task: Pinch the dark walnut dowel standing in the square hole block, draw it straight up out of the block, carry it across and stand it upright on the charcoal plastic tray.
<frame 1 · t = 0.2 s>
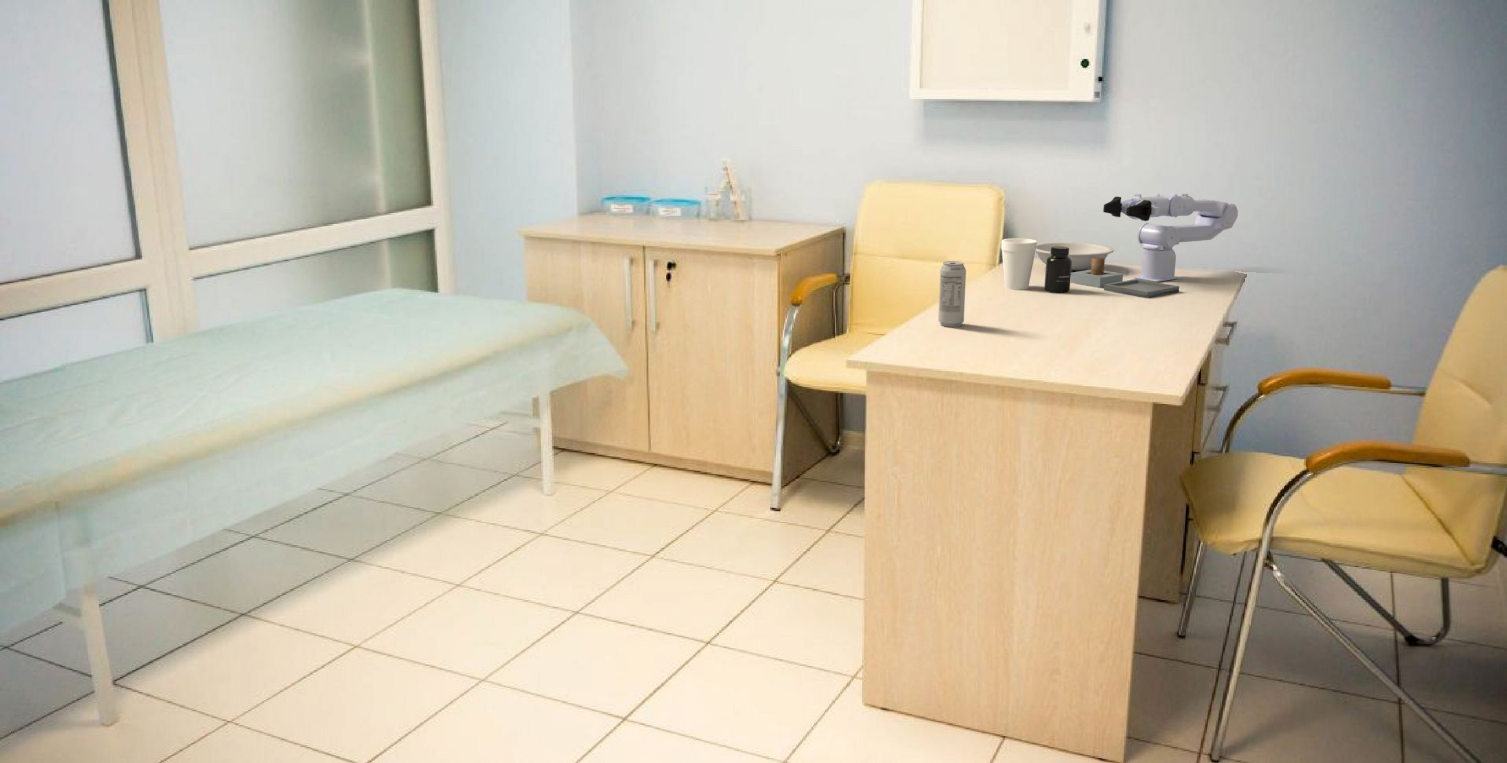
hand: (1115, 209, 339), 21 cm above the table, tool horizontal, fingers open, 7 cm apart
square hole block: (1096, 283, 350), on the table
energy drink can: (950, 325, 298), on the table
tray: (1141, 291, 339), on the table
soup bowl: (1070, 270, 372), on the table
foam cup: (1016, 288, 344), on the table
dowel: (1097, 270, 349), in the square hole block
supplement bottle: (1057, 291, 339), on the table
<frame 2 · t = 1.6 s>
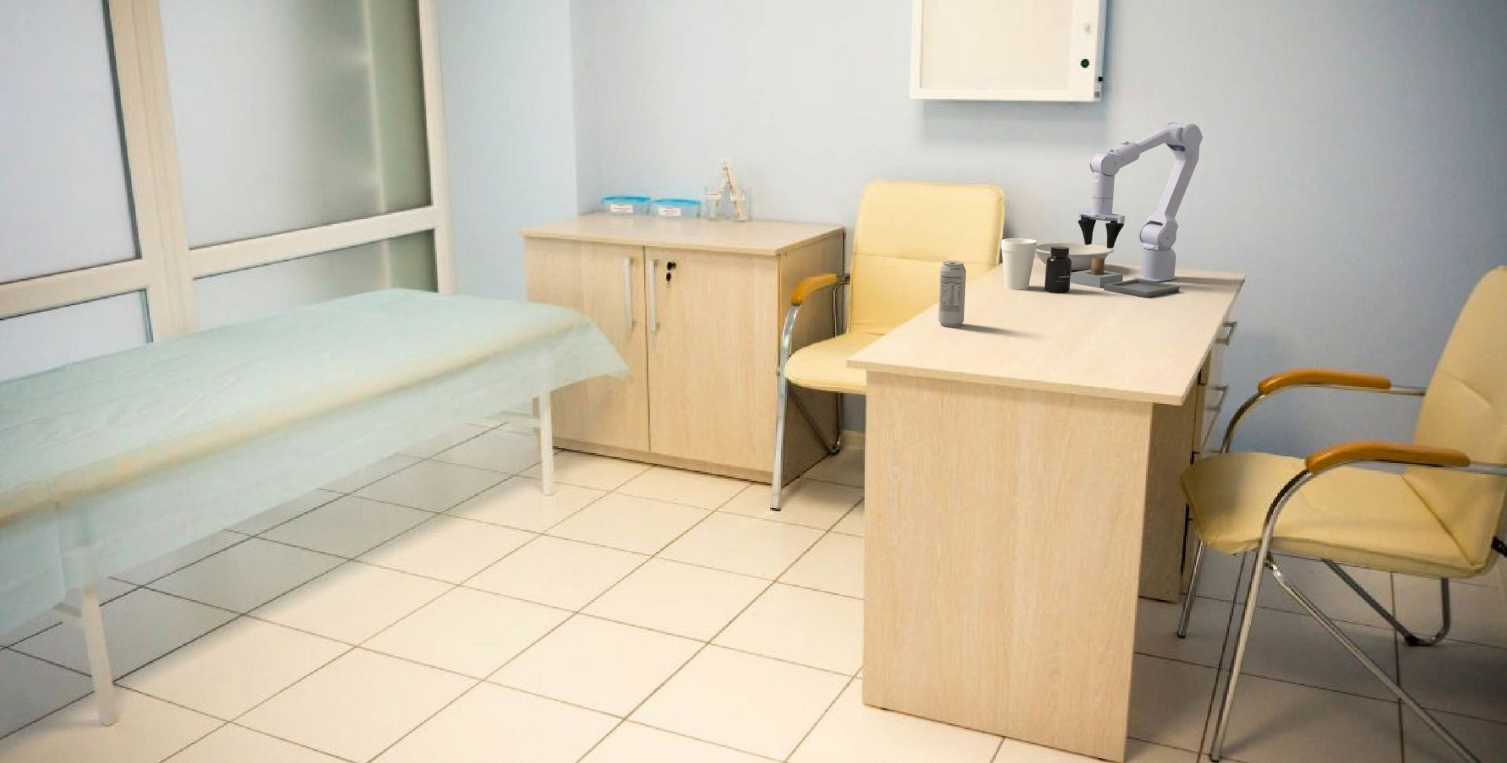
hand: (1099, 246, 347), 10 cm above the table, tool pointing down, fingers open, 7 cm apart
nothing on the table moved.
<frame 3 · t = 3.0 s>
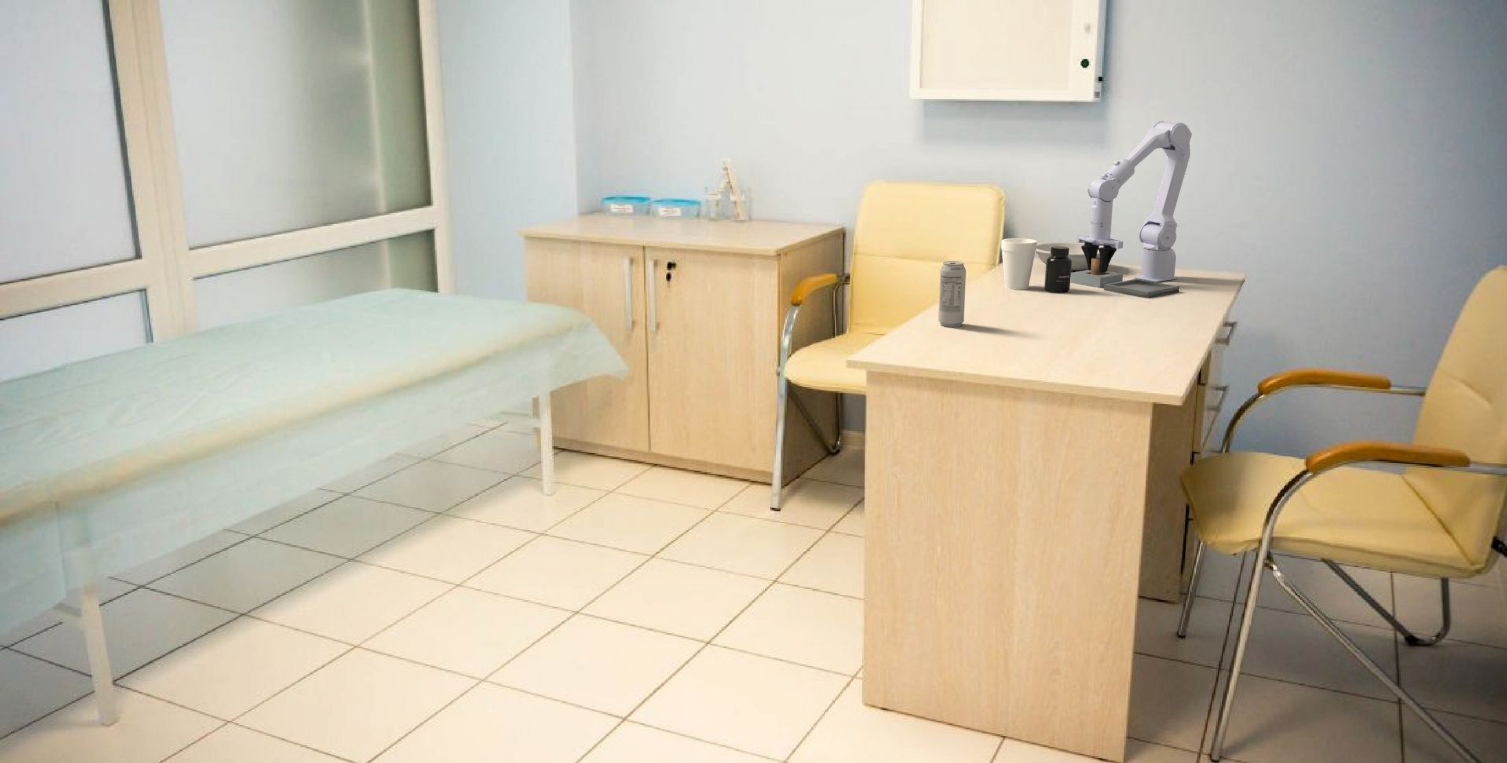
hand: (1097, 271, 349), 3 cm above the table, tool pointing down, fingers closed on dowel, 4 cm apart
dowel: (1097, 270, 349), in the square hole block, touching gripper
everything else where it was.
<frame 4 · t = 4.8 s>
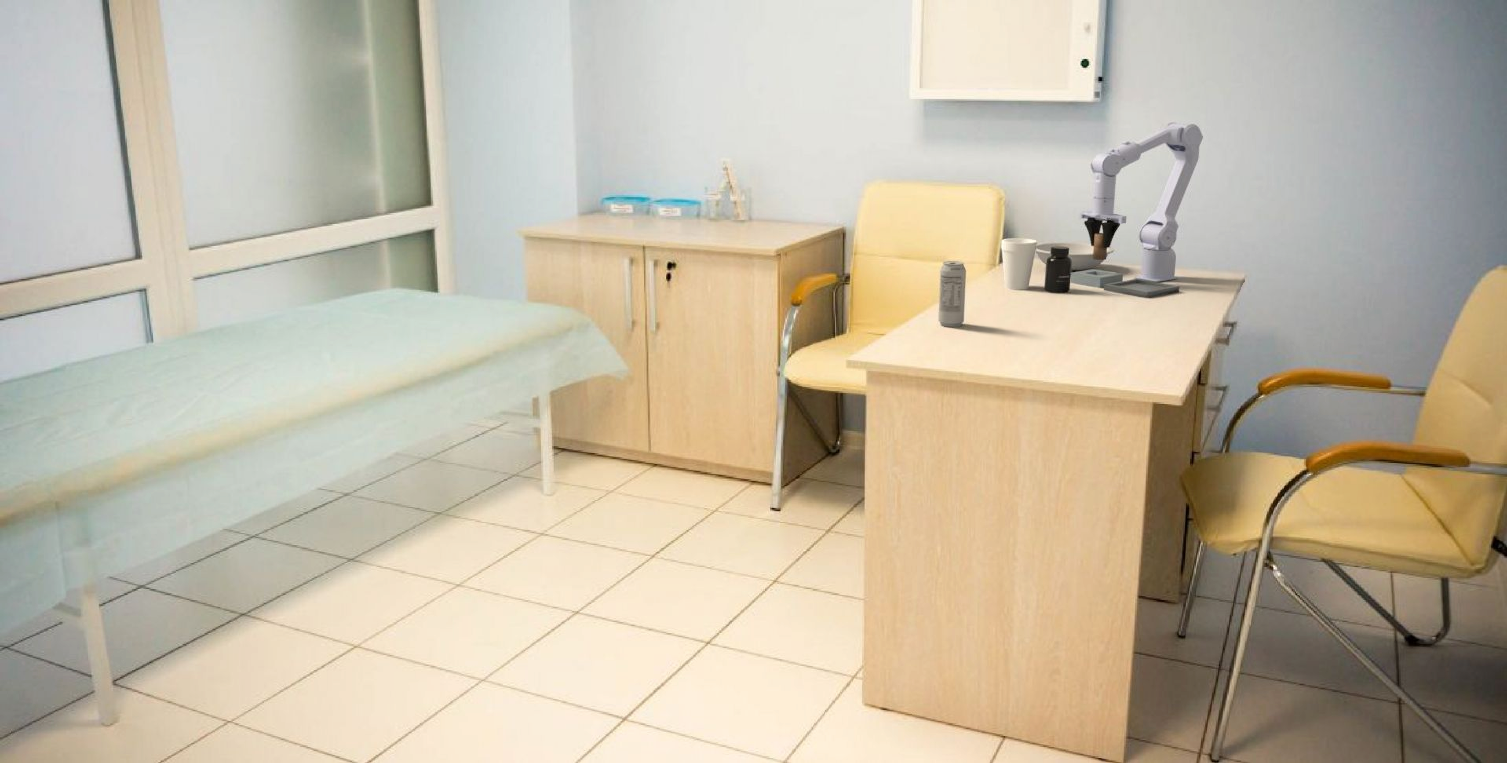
hand: (1100, 246, 347), 10 cm above the table, tool pointing down, fingers closed on dowel, 4 cm apart
dowel: (1100, 246, 347), point 10 cm above the table, touching gripper
everything else where it was.
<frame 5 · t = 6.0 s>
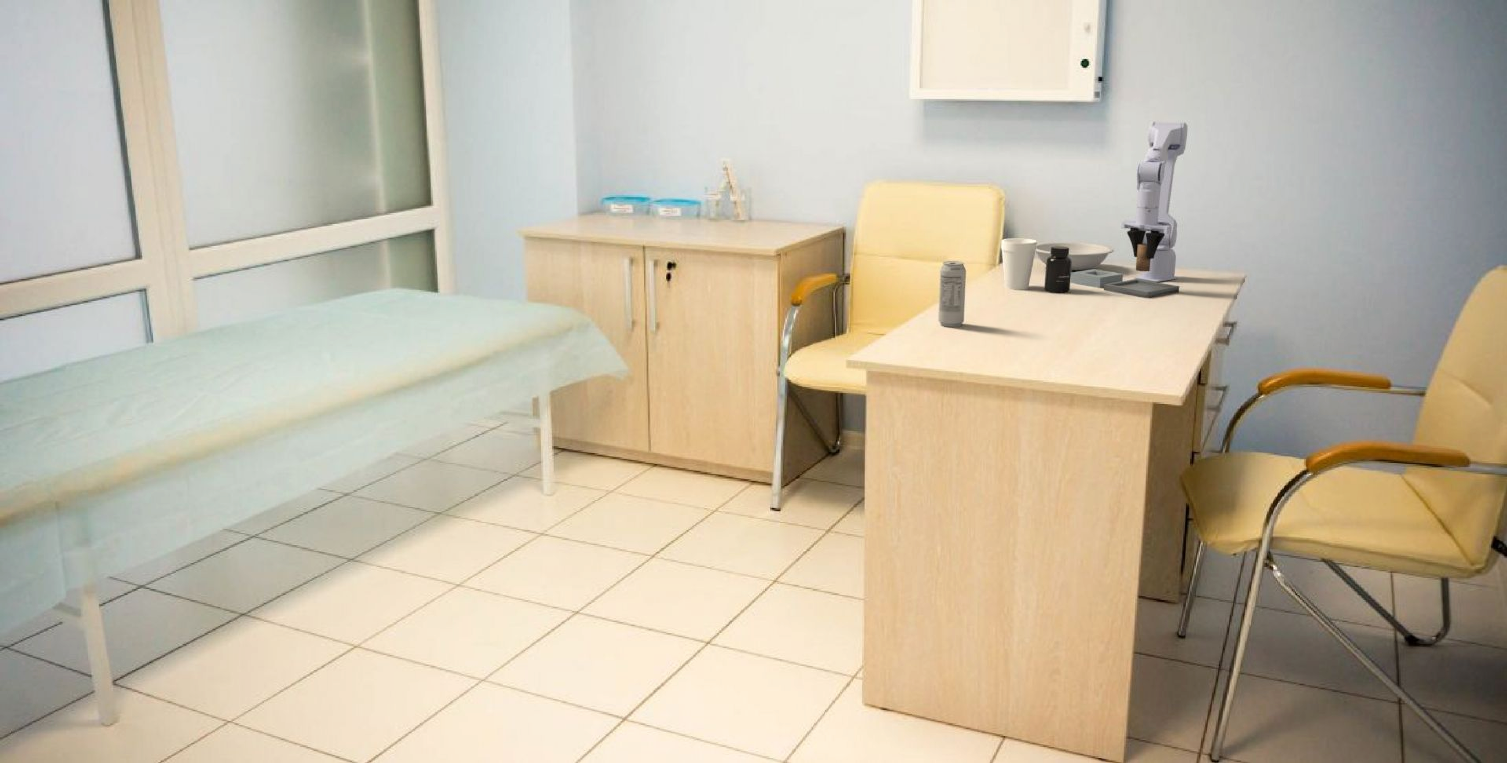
hand: (1143, 257, 336), 9 cm above the table, tool pointing down, fingers closed on dowel, 4 cm apart
dowel: (1143, 257, 336), point 9 cm above the table, touching gripper
everything else where it was.
when the fingers open (6 cm above the table, at t = 6.9 s): dowel drops 2 cm, resting on tray.
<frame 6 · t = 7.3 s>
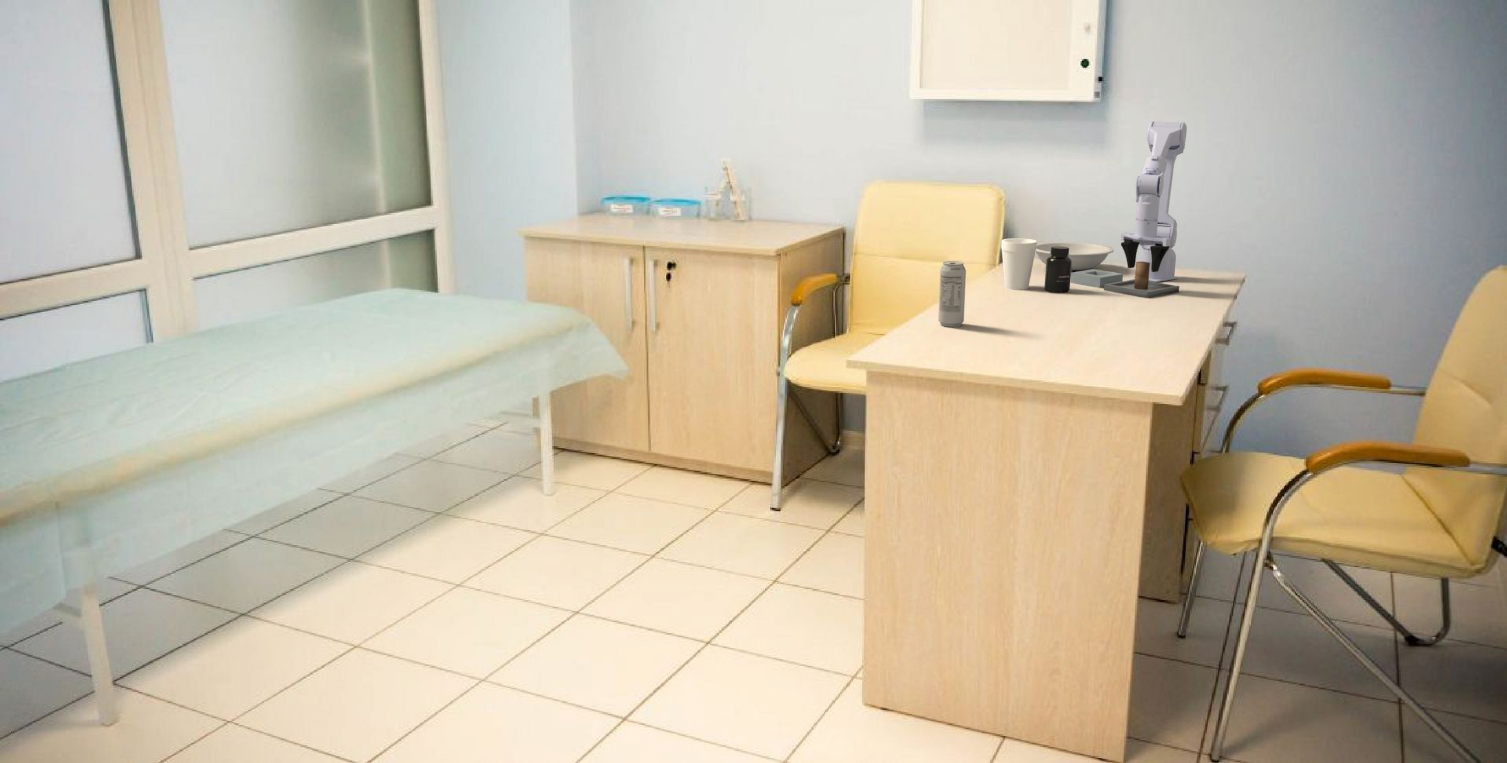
hand: (1142, 269, 337), 6 cm above the table, tool pointing down, fingers open, 7 cm apart
dowel: (1142, 275, 337), point 4 cm above the table, touching tray
everything else where it was.
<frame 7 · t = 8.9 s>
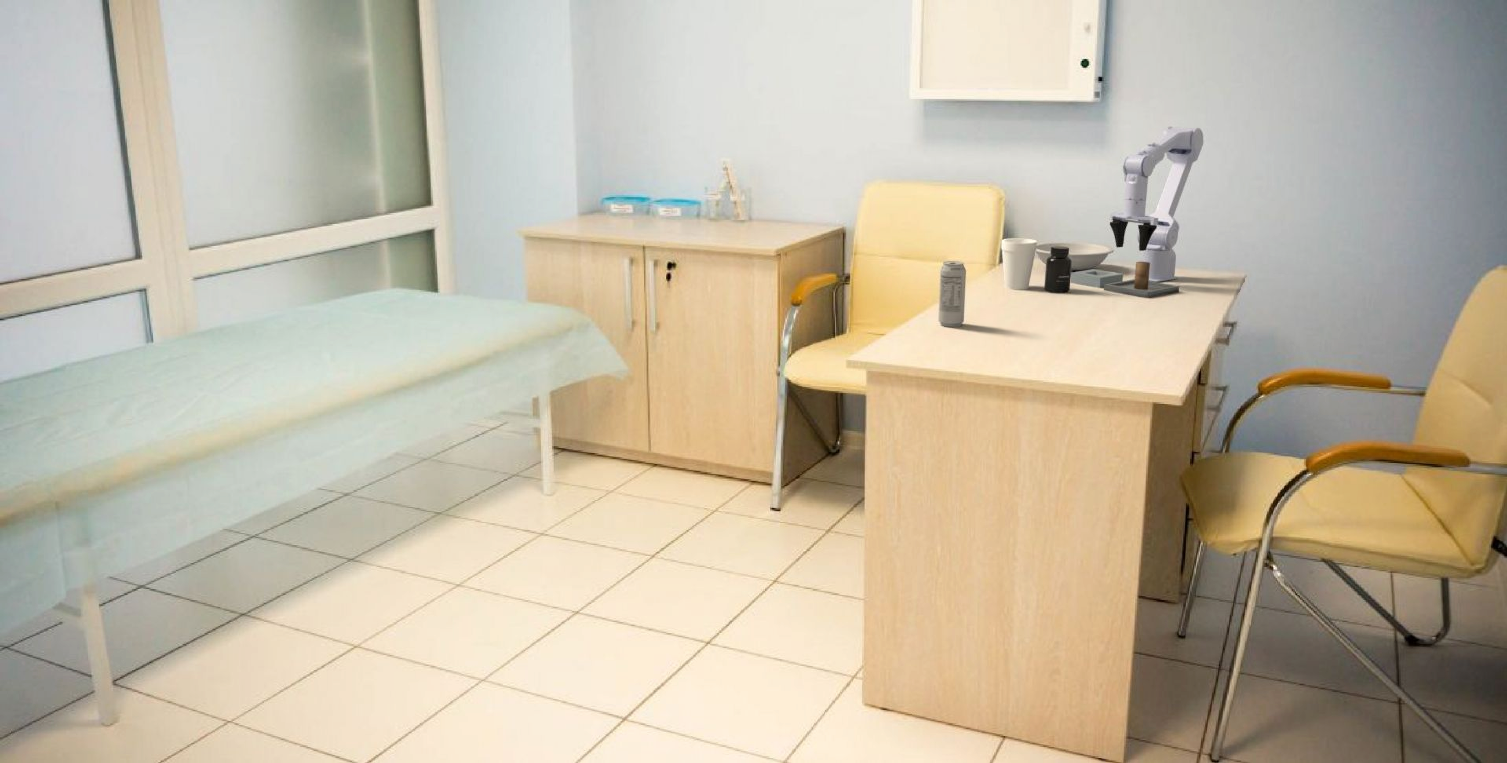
hand: (1130, 248, 343), 10 cm above the table, tool pointing down, fingers open, 7 cm apart
nothing on the table moved.
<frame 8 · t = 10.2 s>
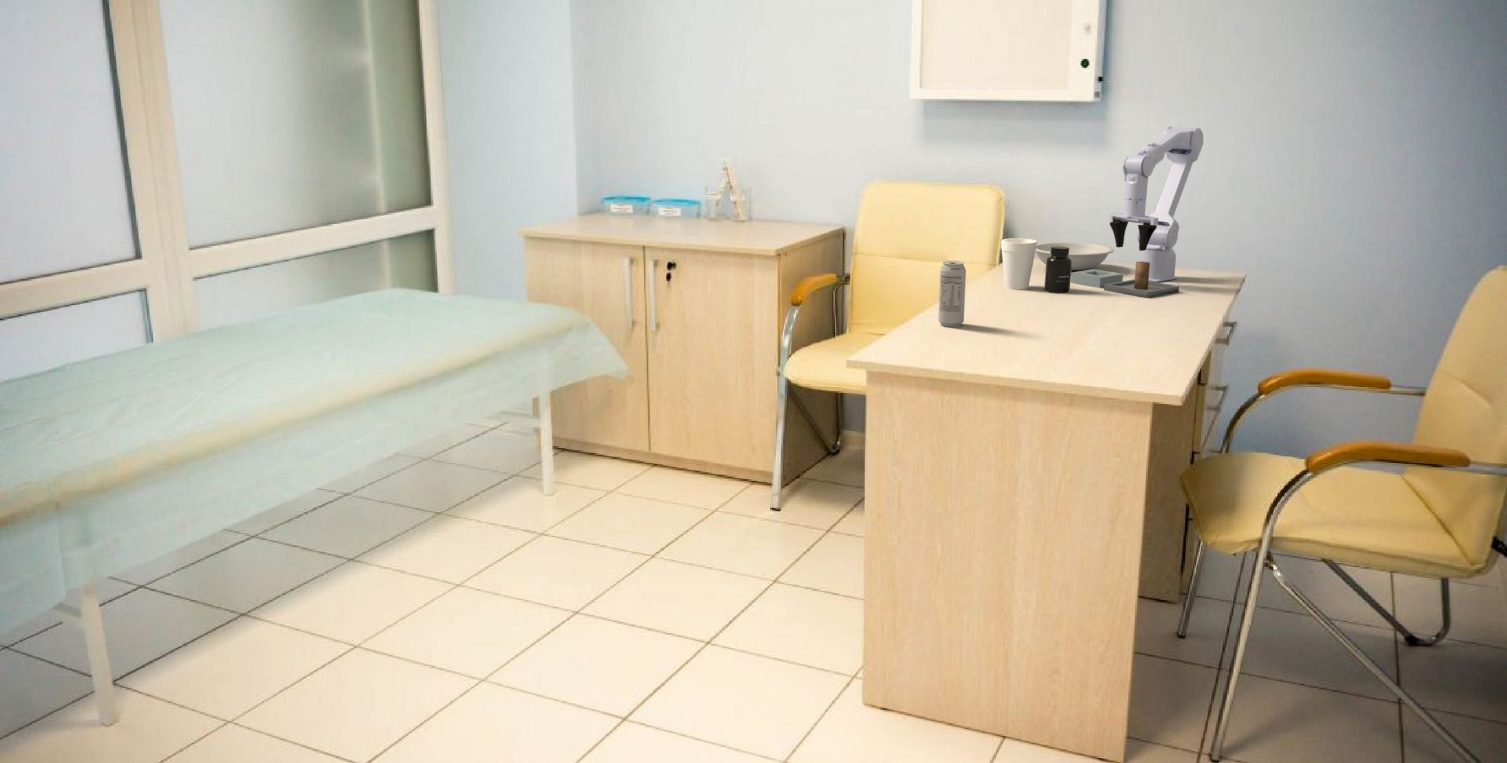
hand: (1130, 248, 343), 10 cm above the table, tool pointing down, fingers open, 7 cm apart
nothing on the table moved.
at the end: dowel inside the target area on the tray (0.1 cm from its centre), point 4.3 cm above the tray's base; dowel tilted 0°; the gripper is holding nothing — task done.
